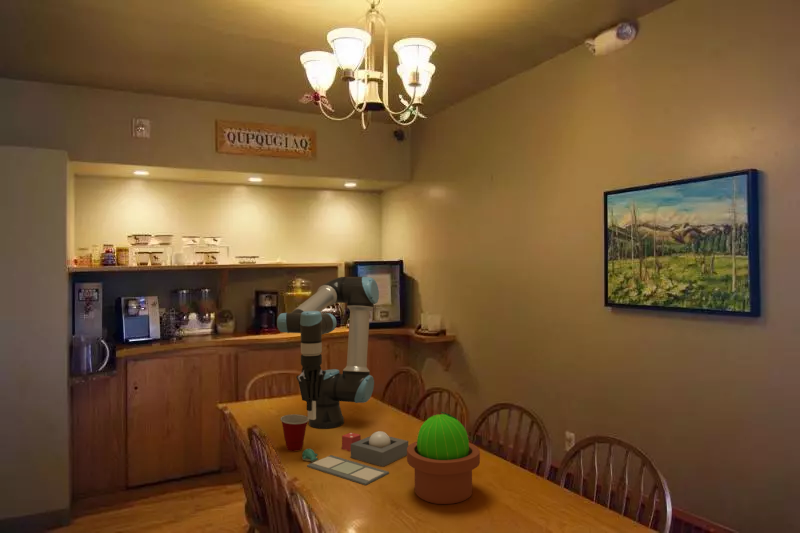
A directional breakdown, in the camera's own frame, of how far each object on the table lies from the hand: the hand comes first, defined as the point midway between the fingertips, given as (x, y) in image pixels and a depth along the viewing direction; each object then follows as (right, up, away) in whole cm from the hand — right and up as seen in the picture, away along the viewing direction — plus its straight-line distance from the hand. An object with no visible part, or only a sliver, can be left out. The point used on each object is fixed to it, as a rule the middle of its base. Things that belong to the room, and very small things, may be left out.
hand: (311, 418), depth 205 cm
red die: (+13, -14, +11) cm, 22 cm away
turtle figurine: (0, -15, -1) cm, 15 cm away
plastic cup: (-8, -15, +11) cm, 20 cm away
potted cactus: (+45, -15, -30) cm, 56 cm away
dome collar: (+25, -14, +2) cm, 28 cm away
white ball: (+25, -13, +2) cm, 28 cm away
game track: (+14, -15, -11) cm, 23 cm away
